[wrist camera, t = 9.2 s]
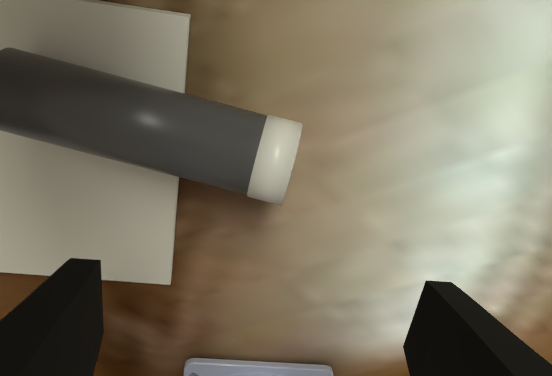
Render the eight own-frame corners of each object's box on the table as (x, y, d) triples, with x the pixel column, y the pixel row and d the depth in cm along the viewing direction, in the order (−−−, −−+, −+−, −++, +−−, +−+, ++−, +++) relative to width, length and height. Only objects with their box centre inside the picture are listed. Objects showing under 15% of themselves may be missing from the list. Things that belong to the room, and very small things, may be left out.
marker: (28, 115, 18) (284, 182, 19) (-21, 143, 16) (277, 220, 16) (29, 39, 17) (304, 112, 17) (-24, 55, 14) (300, 141, 15)
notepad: (171, 276, 23) (170, 284, 23) (-55, 259, 22) (-63, 267, 21) (190, 14, 18) (189, 16, 17) (-112, -31, 16) (-123, -31, 16)
